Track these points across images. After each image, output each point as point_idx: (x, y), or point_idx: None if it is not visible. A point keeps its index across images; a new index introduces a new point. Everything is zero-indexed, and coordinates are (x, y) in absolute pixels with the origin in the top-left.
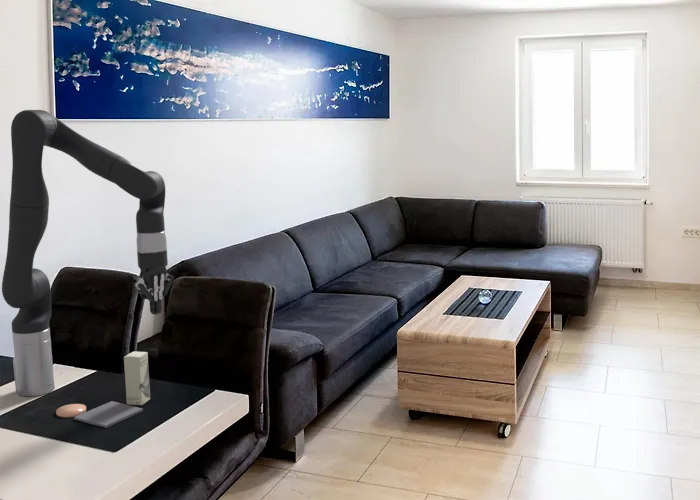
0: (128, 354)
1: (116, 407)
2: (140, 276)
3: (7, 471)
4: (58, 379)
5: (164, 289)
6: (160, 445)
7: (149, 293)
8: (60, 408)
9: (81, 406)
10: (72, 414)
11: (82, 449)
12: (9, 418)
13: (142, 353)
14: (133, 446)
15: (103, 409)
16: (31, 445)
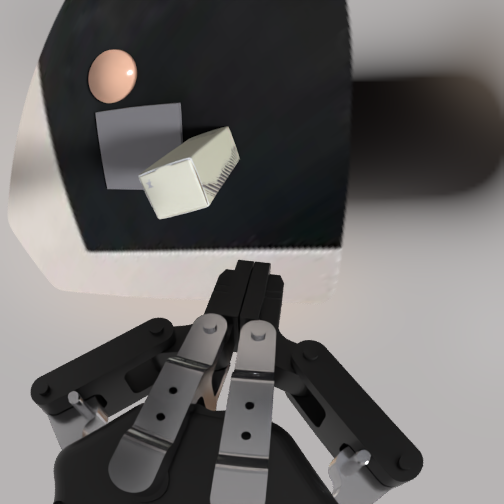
0: (157, 172)
1: (161, 140)
2: (60, 462)
3: (10, 185)
4: None
5: (302, 409)
6: (129, 285)
7: (150, 388)
8: (102, 57)
9: (125, 80)
10: (99, 99)
11: (65, 212)
12: (56, 24)
13: (187, 204)
14: (107, 260)
15: (141, 126)
16: (35, 147)
